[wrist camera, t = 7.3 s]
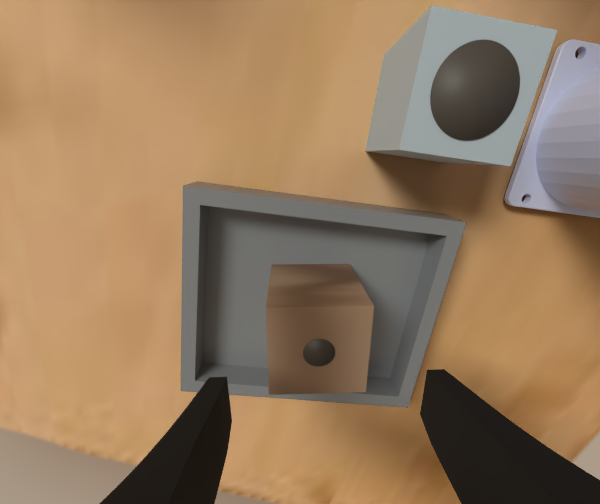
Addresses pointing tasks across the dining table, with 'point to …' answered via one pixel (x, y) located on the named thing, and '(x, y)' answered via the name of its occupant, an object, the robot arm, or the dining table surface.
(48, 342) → the dining table surface
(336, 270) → the small bore block
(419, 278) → the tray
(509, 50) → the wide bore block
